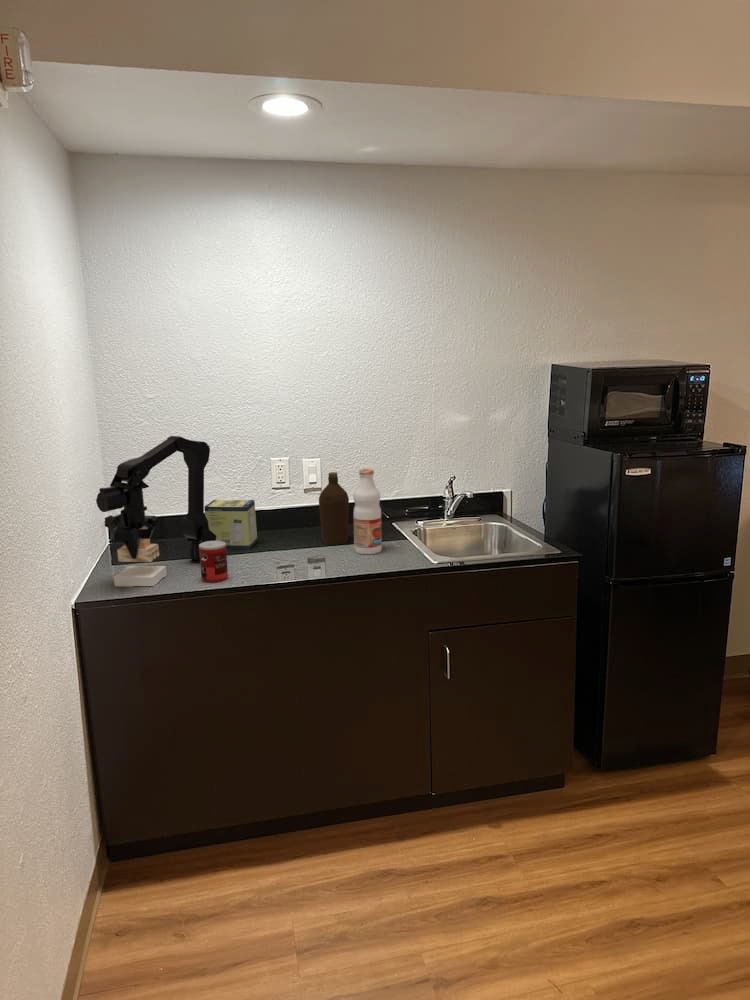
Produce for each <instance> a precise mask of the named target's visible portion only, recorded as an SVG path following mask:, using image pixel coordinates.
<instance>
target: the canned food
mask: <svg viewBox="0 0 750 1000" xmlns="http://www.w3.org/2000/svg"><path fill="white" fill-rule="evenodd" d="M199 555H200V562H199V565H200V575H201V576H200V577H201V579H202V581H203V582H205V583H220V582H223V580H224V581H226V580H227V579H228V576H229V573H228V572H229V570H228V557H227V549H226V543H225V542H223V541H207V542H203V543H201V544H199Z"/></svg>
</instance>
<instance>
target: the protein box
mask: <svg viewBox="0 0 750 1000" xmlns="http://www.w3.org/2000/svg"><path fill="white" fill-rule="evenodd" d="M255 501H256V500H255V499H227V500H226V499H213V500H211V501H210V502H208V504H206V505H204V514H205V516H206V518H207V520H208V524H209V530H210V531H211V532H213V533H214V534H215V535H216V541H223V542H225V543H226V550H242V549H245V551H246V550H248V551H249V550H250V549H251V548H252V547H254V545H255V544H256V543H257V542H258V534H257V516H256V505H255V504H256V503H255Z"/></svg>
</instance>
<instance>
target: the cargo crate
mask: <svg viewBox="0 0 750 1000" xmlns="http://www.w3.org/2000/svg"><path fill="white" fill-rule="evenodd" d="M150 544H151V538H150V539H140V543H139V548H138V549H146V548H147V547H148V546H150ZM124 545H125V544H124ZM125 548H126V549H127V547H126V545H125Z"/></svg>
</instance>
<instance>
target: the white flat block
mask: <svg viewBox="0 0 750 1000" xmlns="http://www.w3.org/2000/svg"><path fill="white" fill-rule="evenodd" d="M167 573H168V572H167V566H166V565H165V566H163V565H162V566H161V565H154V566H153V565H152V566H150V565H128V566H127V567H125V568H124V569H123V570H121V571H119V572H118V573H117V574H115V575H114V576H113V581H114V582H113V583H114V587H133V586H154V585H155V584H156V585H158V584H159V583H160V582H161V581H162V580H163V579H164V578H163V577H165V576H166V575H168V574H167ZM166 577H167V576H166ZM166 577H165V578H166ZM162 578H163V579H162ZM161 579H162V580H161ZM160 580H161V581H160ZM159 581H160V582H159ZM158 582H159V583H158ZM157 583H158V584H157ZM156 585H155V586H156ZM155 586H154V587H155Z"/></svg>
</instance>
